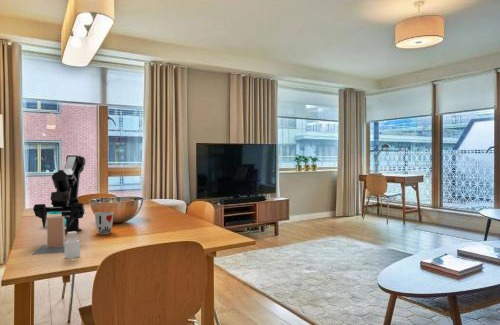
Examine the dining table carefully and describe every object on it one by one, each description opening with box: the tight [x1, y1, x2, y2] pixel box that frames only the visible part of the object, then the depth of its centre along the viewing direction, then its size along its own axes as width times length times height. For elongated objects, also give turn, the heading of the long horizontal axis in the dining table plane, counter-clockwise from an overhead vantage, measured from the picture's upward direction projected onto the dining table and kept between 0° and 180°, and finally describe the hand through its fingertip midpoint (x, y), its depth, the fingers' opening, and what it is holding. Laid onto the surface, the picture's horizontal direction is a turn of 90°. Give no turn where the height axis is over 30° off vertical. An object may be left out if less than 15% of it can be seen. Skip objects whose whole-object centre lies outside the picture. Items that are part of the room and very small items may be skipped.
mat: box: [31, 244, 65, 256], centre depth 140 cm, size 14×12×1 cm
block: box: [46, 215, 66, 247], centre depth 144 cm, size 2×6×12 cm, turn 106°
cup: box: [94, 211, 114, 235], centre depth 168 cm, size 8×8×10 cm
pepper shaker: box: [64, 231, 81, 260], centre depth 129 cm, size 4×4×10 cm
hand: (56, 226), depth 144 cm, fingers open, 9 cm apart
